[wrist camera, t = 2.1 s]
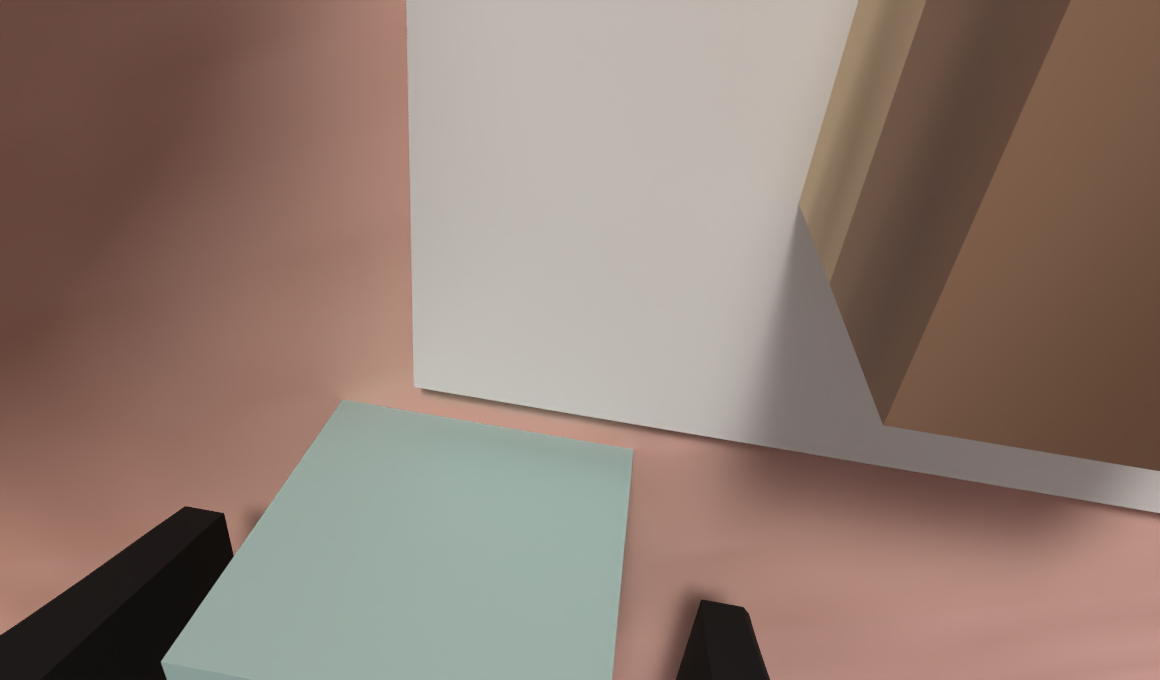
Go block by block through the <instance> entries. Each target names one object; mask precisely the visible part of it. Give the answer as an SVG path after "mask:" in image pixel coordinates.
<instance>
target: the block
mask: <svg viewBox="0 0 1160 680" xmlns="http://www.w3.org/2000/svg"><path fill="white" fill-rule="evenodd" d="M633 451H634V449H628V448H622V447H617V446H611V445H605V444H599V443H593V442H587V441H582V440H576V439H570V438H564V437H558V436H552V435H547V434H541V433H535V432H529V431H523V430H517V429H512V428H506V427H500V426H494V425H488V424H483V423H477V422H471V421H465V420H459V419H453V418H448V417H442V416H436V415H430V414H424V413H418V412H413V411H407V410H401V409H395V408H389V407H383V406H378V405H372V404H366V403H360V402H354V401H348V400H342V401H341V403H340V404H339V406H338V407H337V409H336V410H335V411H334V413H333V414H332V416H331V417H330V419H329V420H328V422H327V423H326V424H325V426H324V427H323V429H322V430H321V432H320V433H319V435H318V436H317V437H316V439H315V440H314V442H313V443H312V445H311V446H310V447H309V449H308V450H307V452H306V453H305V455H304V456H303V458H302V459H301V460H300V462H299V463H298V465H297V466H296V468H295V469H294V471H293V472H292V473H291V475H290V476H289V478H288V479H287V481H286V482H285V484H284V485H283V486H282V488H281V489H280V491H279V492H278V494H277V495H276V497H275V498H274V499H273V501H272V502H271V504H270V505H269V507H268V508H267V509H266V511H265V512H264V514H263V515H262V517H261V518H260V520H259V521H258V522H257V524H256V525H255V527H254V528H253V530H252V531H251V533H250V534H249V535H248V537H247V538H246V540H245V541H244V543H243V544H242V546H241V547H240V548H239V550H238V551H237V553H236V554H235V556H234V557H233V558H232V560H231V561H230V563H229V564H228V566H227V567H226V569H225V570H224V571H223V573H222V574H221V576H220V577H219V579H218V580H217V582H216V583H215V584H214V586H213V587H212V589H211V590H210V592H209V593H208V595H207V596H206V597H205V599H204V600H203V602H202V603H201V605H200V606H199V607H198V609H197V610H196V612H195V613H194V615H193V616H192V618H191V619H190V620H189V622H188V623H187V625H186V626H185V628H184V629H183V631H182V632H181V633H180V635H179V636H178V638H177V639H176V641H175V642H174V644H173V645H172V646H171V648H170V649H169V651H168V652H167V654H166V655H165V656H164V658H163V659H162V661H161V664H162V667H163V670H164V673H165V676H166V678H167V680H612V675H613V664H614V653H615V643H616V632H617V621H618V611H619V600H620V589H621V579H622V568H623V558H624V547H625V536H626V526H627V515H628V504H629V494H630V483H631V472H632V462H633Z"/></svg>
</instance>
